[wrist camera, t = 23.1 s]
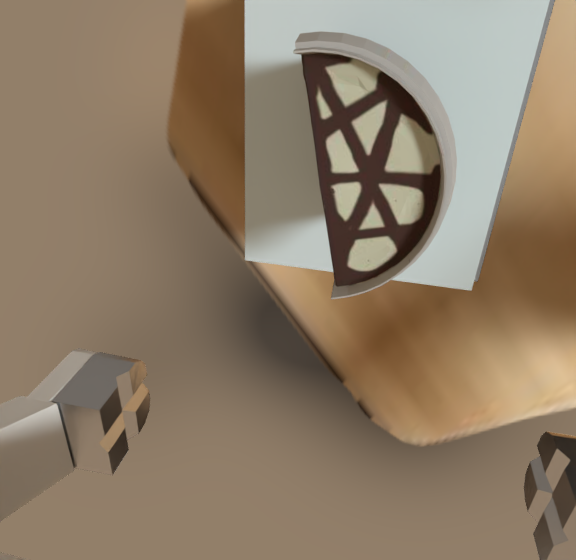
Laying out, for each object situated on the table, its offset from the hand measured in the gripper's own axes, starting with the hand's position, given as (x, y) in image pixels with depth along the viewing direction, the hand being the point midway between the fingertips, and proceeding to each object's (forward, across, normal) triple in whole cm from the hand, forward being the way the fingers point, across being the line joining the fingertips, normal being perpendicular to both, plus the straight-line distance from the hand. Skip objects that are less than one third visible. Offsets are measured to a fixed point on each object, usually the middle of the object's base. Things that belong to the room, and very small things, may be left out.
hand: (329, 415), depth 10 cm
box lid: (+24, 0, 0) cm, 24 cm away
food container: (+23, +1, +1) cm, 23 cm away
